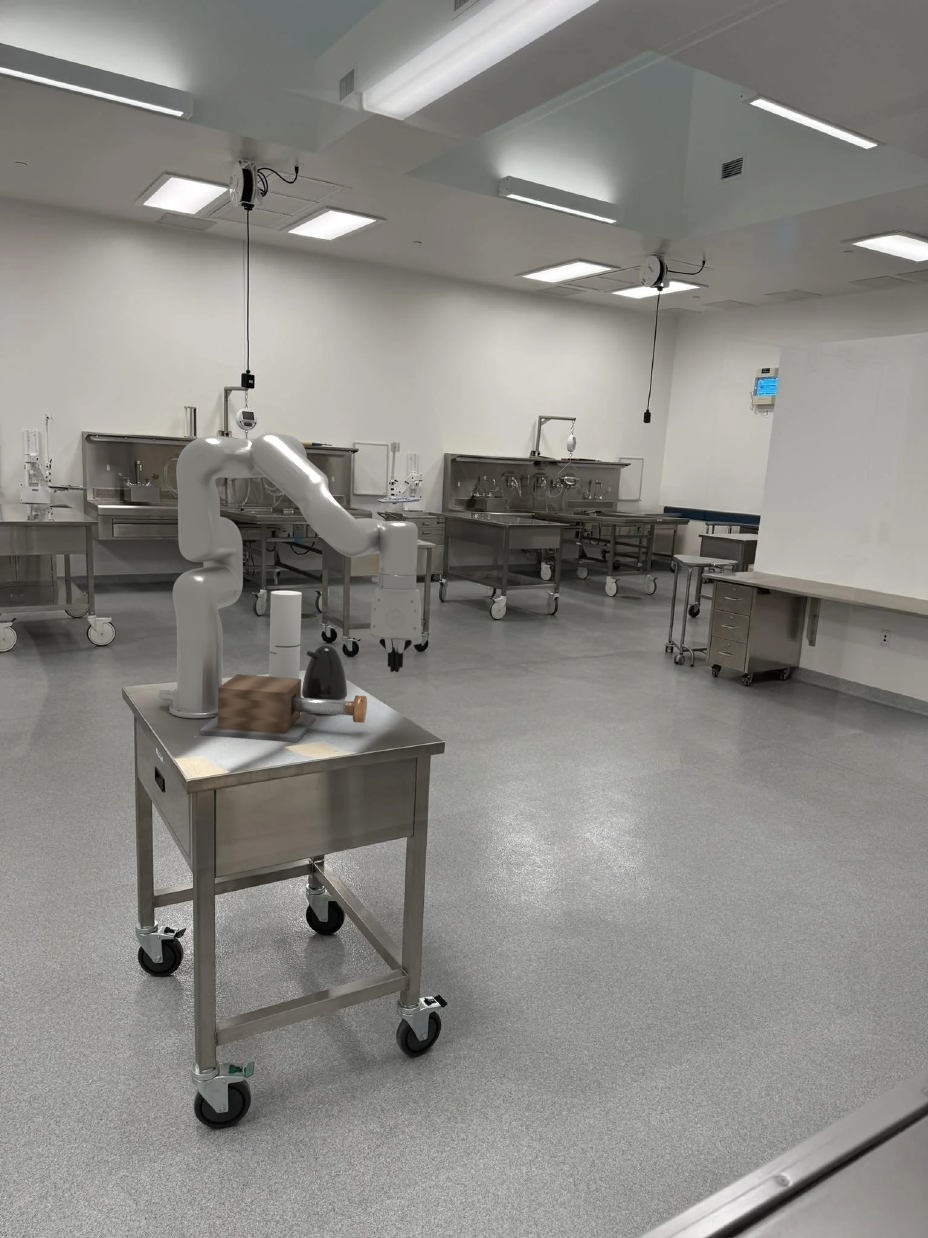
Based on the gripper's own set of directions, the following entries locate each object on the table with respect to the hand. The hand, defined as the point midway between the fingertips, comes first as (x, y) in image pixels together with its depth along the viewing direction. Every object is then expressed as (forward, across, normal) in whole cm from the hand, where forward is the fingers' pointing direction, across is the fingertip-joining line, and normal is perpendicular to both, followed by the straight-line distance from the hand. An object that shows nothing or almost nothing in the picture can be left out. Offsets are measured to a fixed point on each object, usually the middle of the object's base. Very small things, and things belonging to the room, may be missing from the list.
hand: (395, 670), depth 172 cm
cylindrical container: (+14, -30, +26) cm, 42 cm away
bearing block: (+14, -28, 0) cm, 31 cm away
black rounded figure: (+14, -18, +16) cm, 28 cm away
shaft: (+11, -16, 0) cm, 20 cm away
